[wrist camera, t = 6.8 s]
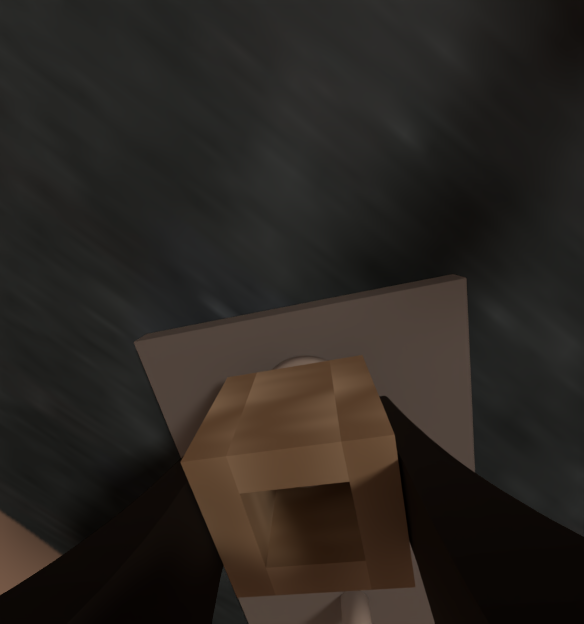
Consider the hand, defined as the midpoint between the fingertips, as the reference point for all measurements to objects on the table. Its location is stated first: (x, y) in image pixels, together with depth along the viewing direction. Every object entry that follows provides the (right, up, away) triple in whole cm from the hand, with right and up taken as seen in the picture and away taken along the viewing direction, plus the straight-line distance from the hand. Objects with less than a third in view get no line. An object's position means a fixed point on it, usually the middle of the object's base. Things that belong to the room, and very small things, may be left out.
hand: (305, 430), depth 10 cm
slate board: (+2, -6, +5) cm, 8 cm away
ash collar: (0, 0, +1) cm, 1 cm away
